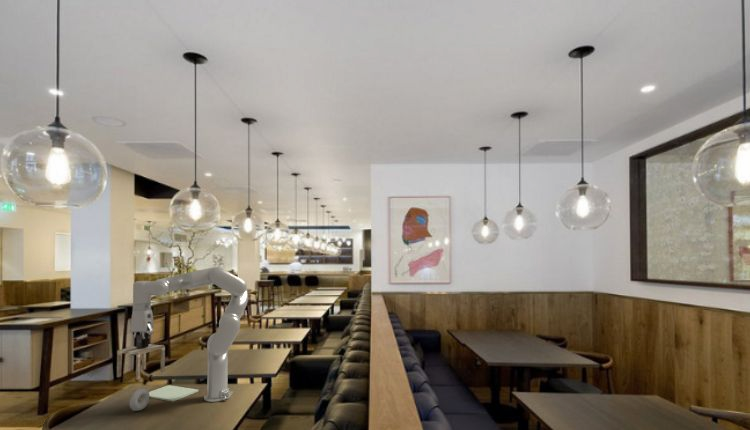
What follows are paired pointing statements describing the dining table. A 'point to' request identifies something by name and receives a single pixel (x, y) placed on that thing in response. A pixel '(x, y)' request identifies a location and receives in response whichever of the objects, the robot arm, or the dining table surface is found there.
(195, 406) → the dining table surface
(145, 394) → the donut
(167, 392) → the mat
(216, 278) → the robot arm
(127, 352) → the miniature stool
